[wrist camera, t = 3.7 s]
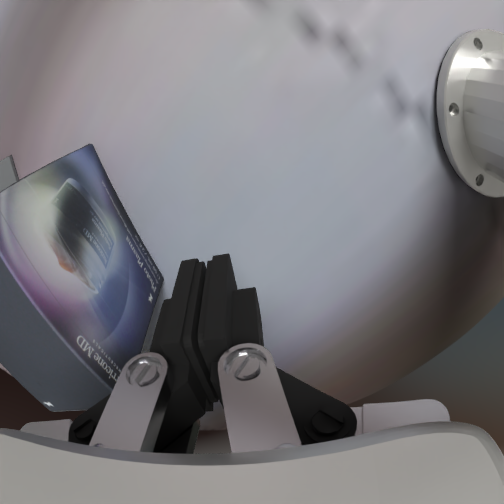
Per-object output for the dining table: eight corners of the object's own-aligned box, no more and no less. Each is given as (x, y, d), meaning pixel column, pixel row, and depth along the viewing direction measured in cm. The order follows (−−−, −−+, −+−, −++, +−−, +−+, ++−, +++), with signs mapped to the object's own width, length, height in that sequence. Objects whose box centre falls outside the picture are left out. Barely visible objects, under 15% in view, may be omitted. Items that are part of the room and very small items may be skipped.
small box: (171, 277, 20) (136, 412, 11) (101, 301, 21) (51, 415, 12) (95, 137, 15) (-29, 206, 6) (28, 183, 16) (-76, 266, 7)
